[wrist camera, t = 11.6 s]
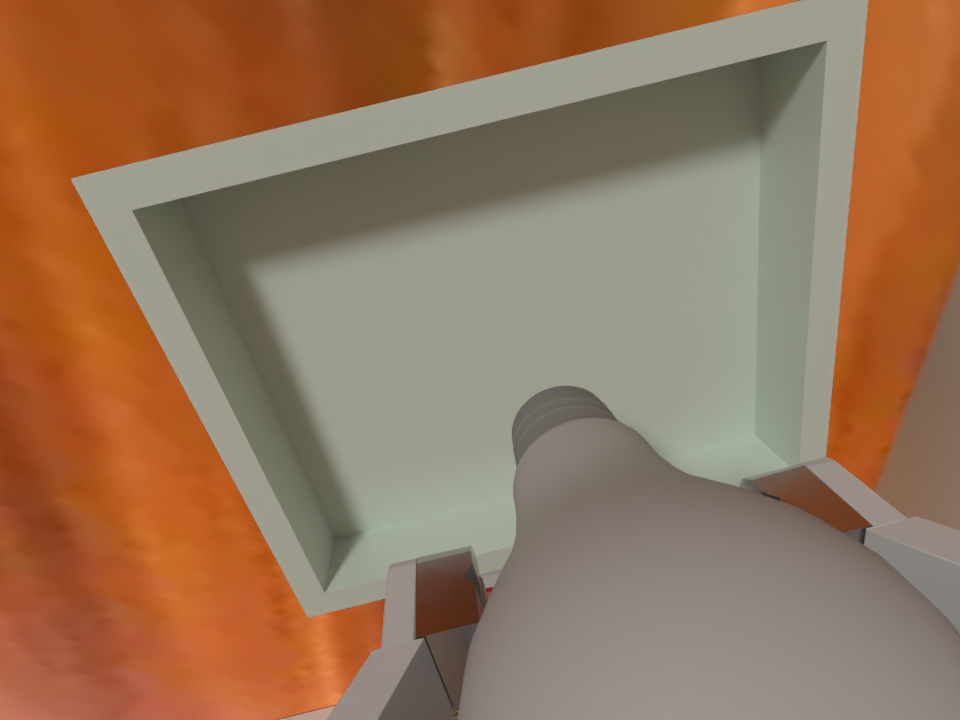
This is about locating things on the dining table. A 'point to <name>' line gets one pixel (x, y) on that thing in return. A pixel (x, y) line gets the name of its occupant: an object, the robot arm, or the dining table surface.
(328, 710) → the socket collar
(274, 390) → the tray
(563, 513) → the lightbulb
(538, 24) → the dining table surface
